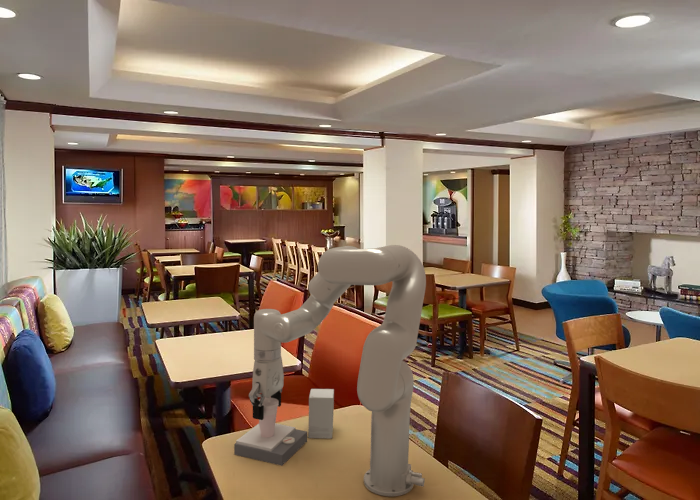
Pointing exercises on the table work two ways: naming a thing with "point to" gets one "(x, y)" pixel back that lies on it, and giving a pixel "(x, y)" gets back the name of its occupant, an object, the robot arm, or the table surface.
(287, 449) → the scale
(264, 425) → the smoothie
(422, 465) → the table surface
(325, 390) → the supplement box
